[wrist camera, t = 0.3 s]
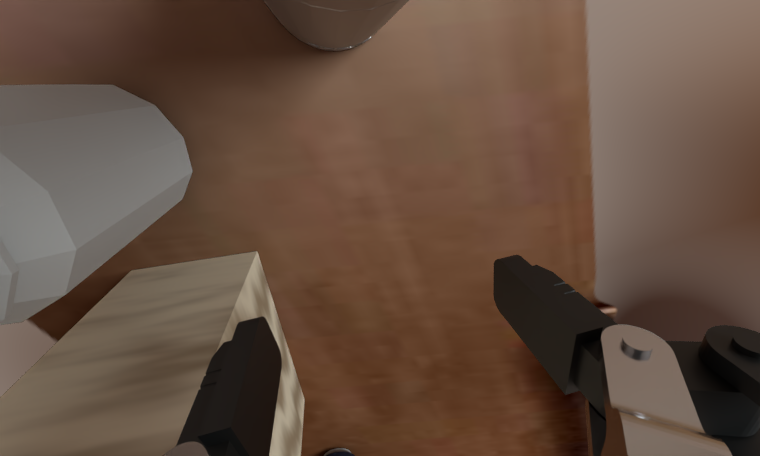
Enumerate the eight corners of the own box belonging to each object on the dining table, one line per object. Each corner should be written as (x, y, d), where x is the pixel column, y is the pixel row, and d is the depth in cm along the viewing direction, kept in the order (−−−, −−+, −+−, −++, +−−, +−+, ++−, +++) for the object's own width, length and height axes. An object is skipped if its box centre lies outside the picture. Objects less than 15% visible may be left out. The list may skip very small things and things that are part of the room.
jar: (89, 47, 20) (-901, -94, 4) (223, 151, 24) (14, 293, 8) (21, 155, 22) (-815, 358, 6) (155, 234, 26) (-121, 481, 10)
